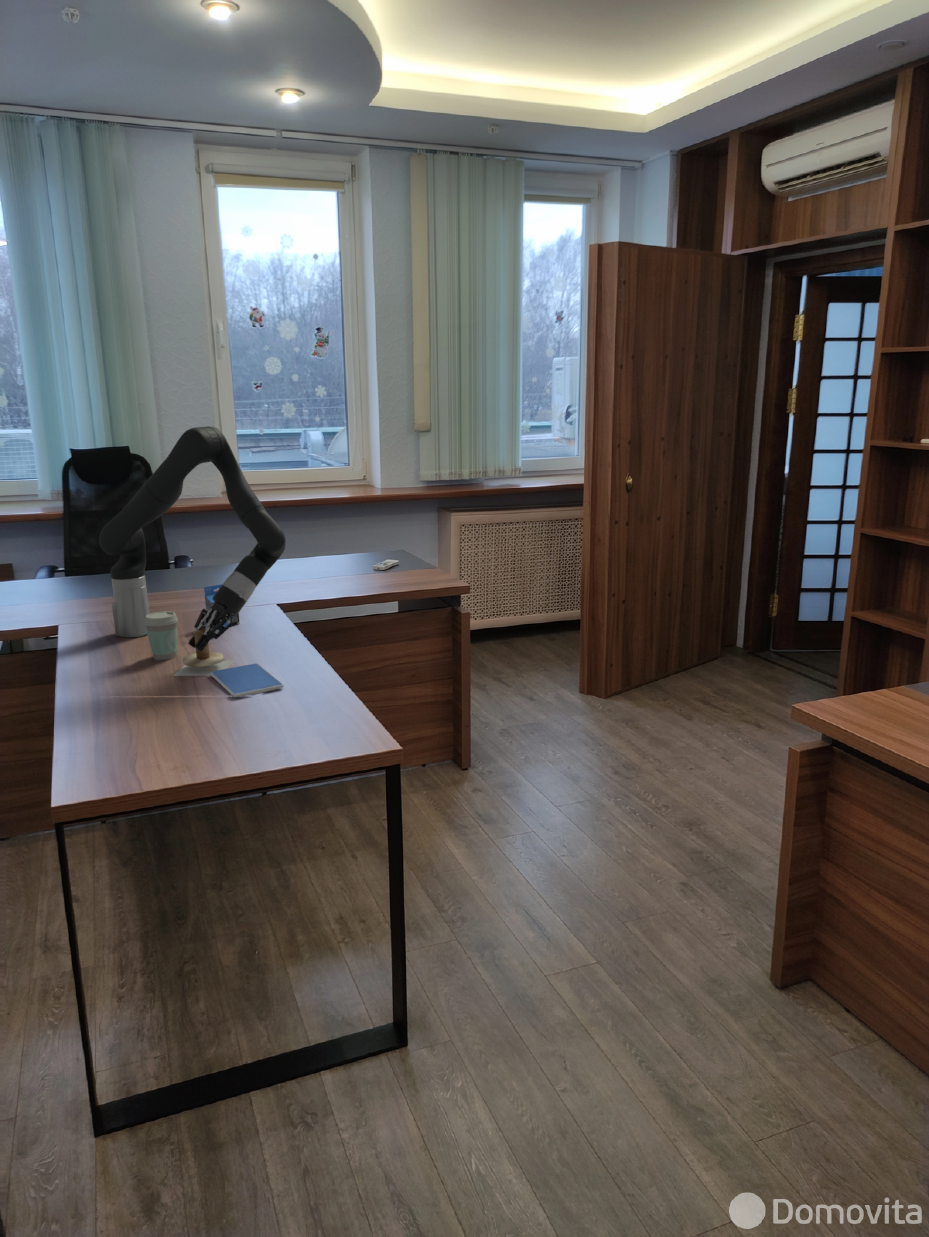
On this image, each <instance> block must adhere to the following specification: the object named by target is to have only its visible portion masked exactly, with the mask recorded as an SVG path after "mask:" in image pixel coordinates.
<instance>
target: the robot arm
mask: <svg viewBox="0 0 929 1237" xmlns="http://www.w3.org/2000/svg"><path fill="white" fill-rule="evenodd" d="M205 463H212V464H213V465H214V467H215V468H216V469H217V470H218V471H219V473H220V475H221V477H222V478H223V481H224V486H225V492H226V496H227V500H228V502H229V505H230V507H231V509H232V510H233V512H234V513H235V514H236V516H237V517H238V519H239V520H240V522H241V523H242V525H244V527H245V528H246V529H248V530H249V531H250V533H251V534H252V536H253V538H254V539H255V540H256V544H255V546H254V547H253V549H252V550H251V551H250V553H249V554H248V555H246V556H244V557H243V558H242V559H241V560H240V562H239V563H238V564H237V566H236V567H235V569H234V570H233V571H232V572H231V573H230V574H229V575H228V577H226V579H225V580H224V581H223V583H222V586H221V587H220V588H218V590H216V591H217V592H216V594H215V595H214V596H213V601H214V602H215V604H214V605H213V606H212V607H211V608H210V609H209V610H206V608H202V610H200V613H199V615H198V618H197V620H196V622H195V624H194V626H193V627H194V629H195V631H196V630H205V632H204V635H202V636H201V637H200V639H199V640H198V642H197V643H196V644H195V636H194V634H193V636H192V637H191V638H190V639H189V641H188V642H187V643H188V645H189V646H191V647H192V648H195V650H196V649H198V650H199V651H202V650H203V649H204V648H205V646H206V645H207V643H208V644H209V642H210V641H213V640H218V638H220V637H221V636H222V635H223V634H224V633H225V632H226V631H227V630H229V629H230V628H231V627H232V626H233V625H232V622H231V621H229V619H230V616H231V614H233V615H237V614H238V613H239V614H240V612H241V610H242V609H243V608H244V606H245V605H246V604H247V602H248V601H249V599H250V598H251V596H252V595H253V594H254V591H255V590H256V588H257V587H258V585H259V584H260V582H261V581H262V580H263V579H264V577H265V575H266V574H267V572H268V571H269V570H270V569H271V568H273V566H274V565H275V564H276V562H277V561H278V560H279V559H280V558H281V556H282V555H283V553H284V551H285V549H286V536H285V533H284V532H283V530H282V528H281V527H280V526H279V525H278V523H277V522H276V521H275V520H274V519H273V517H272V516H271V515H270V514H269V513H268V512H267V510H266V508H265V507H264V504H262V502H261V501H260V499H259V498H258V496H257V495H256V494H255V492H254V490H253V489H252V488H251V486H250V484H249V482H248V481H247V479H246V477H245V475H244V474H243V471H242V469H241V467H240V464H239V463H238V460H237V458H236V457H235V455H234V451H233V450H232V448H231V446H230V444H229V442H228V439H227V438H226V436H225V435H224V434H223V432H222V431H221V430H220V429H218V428H217V427H215V426H209V425H208V426H199V427H191V428H188V429H187V430H186V431H184V432H183V433H182V434H181V436H180V437H179V439H178V440H177V442H176V443H175V444H174V446H173V448H172V449H171V451H170V452H169V454H168V455H167V457H166V458H165V459H164V460H163V461H162V462H161V464H160V465H159V466H158V468H157V469H156V470H155V471H154V472H153V473H152V474H151V475H150V476H149V477H148V478H147V480H146V481H145V482H144V483H143V484H142V486H141V487H140V488H139V489H138V490H137V491H136V493H135V495H134V496H132V498H131V499H130V500H129V501H128V502H127V504H125V506H124V507H123V508H122V509H121V510H120V511H119V513H117V514H116V515H115V516H114V517H113V518H111V519H110V520H109V521H108V522H107V523H106V524H104V526H103V527H102V528H101V531H100V533H99V538H98V541H99V542H98V543H99V546H100V548H101V550H102V551H103V552H105V554H108V555H111V556H119V559H118V561H116V563H115V564H114V565H113V566H111V568H110V578H111V586H112V593H113V601H114V603H112V604H111V609H112V616H113V625H114V626H113V627H114V633H115V634H114V635H115V637H121V638H137V637H143V636H145V635H147V636H148V633H147V628H146V625H145V624H144V623H145V622H144V621H145V617H146V615H148V614H150V606H149V597H148V590H147V588H148V587H147V581H146V573H145V572H146V570H145V569H146V567H147V552H146V539H145V533H144V531H143V527H145V526H147V525H149V524H150V523H152V522H154V521H155V520H157V519H159V518H160V517H161V516H163V515H164V514H166V513H167V512H168V511H169V510H170V509H171V507H173V505H174V504H175V503H176V502H177V501H178V500H179V498H180V497H181V496H182V491H183V487H184V481H185V479H186V477H187V476H188V475H189V474H190V473H191V472H192V471H193V470H194V469H195V468H196V467H197V466H199V465H201V464H205ZM207 623H208V624H207Z"/></svg>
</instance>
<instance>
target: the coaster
mask: <svg viewBox="0 0 929 1237" xmlns="http://www.w3.org/2000/svg"><path fill="white" fill-rule="evenodd" d="M234 662H235V660H223V661H222V662H220V663H218V664H215V665H211V666H204V667H191V666H186V665H183V666H182V667H181V668H180V669H179V670H177V672H176V673H174V674H173V677H197V676H198V677H201V676H202V677H206V676H207V677H209V676H210V677H212V676H211V675H210V673H211V672H212V671H217V670H222V669H228V668H230V667H231V665H233V663H234Z"/></svg>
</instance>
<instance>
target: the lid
mask: <svg viewBox="0 0 929 1237" xmlns="http://www.w3.org/2000/svg"><path fill="white" fill-rule="evenodd" d="M193 632H194V633H193V635H194V636H195V644H196V643H197V642H198V640H199V639H200V637H201V636H202V635H204V632H205V630H196V629H195V631H193ZM222 661H225V660H224V654H223V653H221V652H217V651H210V646H209V642H208V643H207V645H206V646H205V648H204V649H203V650H202V651H199V650H198V649H196V648H195V652H194V653H191V654H187V655H186V656H184V657H183V658H182V663H183V666H185V665H186V666H191V667H204V666H211V665H215V664H218V663H220V662H222Z"/></svg>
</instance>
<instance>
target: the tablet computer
mask: <svg viewBox="0 0 929 1237" xmlns="http://www.w3.org/2000/svg"><path fill="white" fill-rule="evenodd" d="M210 675H211V676H210V677H212V678H214V680H215V681H216V682H218V684H219V685H220V686H222V687H223V688H224V689H225V690H226V691H227V692H228V693H229V694H230V695H231V697H233V698H239V697H245V696H251V695H256V694H261V693H266V692H270V691H275V690H278V689H279V690H280V689H282V688H284V683H282V681H280V680H279V679H277V678H276V677H275V676H274V675H273V674H271V673H270V672H269V671H267V670H266V669H265V668H263V667H262V665H260V664H258V663H251V664H246V665H239V666H235V667H228V668H227V669H222V670H217V671H212V672H211V673H210Z"/></svg>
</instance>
